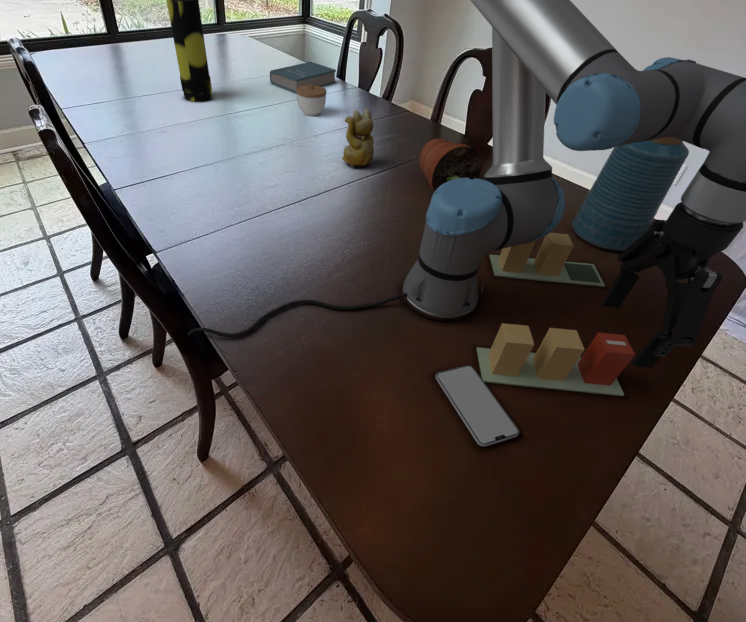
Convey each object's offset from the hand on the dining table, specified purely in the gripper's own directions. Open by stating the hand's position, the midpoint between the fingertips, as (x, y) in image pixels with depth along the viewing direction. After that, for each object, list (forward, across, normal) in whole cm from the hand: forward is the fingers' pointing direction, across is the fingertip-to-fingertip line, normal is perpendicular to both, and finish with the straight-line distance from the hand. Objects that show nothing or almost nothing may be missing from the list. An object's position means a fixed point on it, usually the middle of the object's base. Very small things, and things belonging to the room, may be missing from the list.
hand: (624, 333), depth 70 cm
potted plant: (+10, +57, +18) cm, 61 cm away
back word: (+10, +31, +1) cm, 33 cm away
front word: (+11, 0, +8) cm, 13 cm away
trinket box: (+10, +118, +66) cm, 136 cm away
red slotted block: (+10, 0, 0) cm, 10 cm away
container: (+9, +124, +110) cm, 166 cm away
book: (+9, +152, +74) cm, 170 cm away
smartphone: (+11, -9, +22) cm, 26 cm away
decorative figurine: (+10, +78, +46) cm, 91 cm away
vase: (+11, +49, -18) cm, 53 cm away
